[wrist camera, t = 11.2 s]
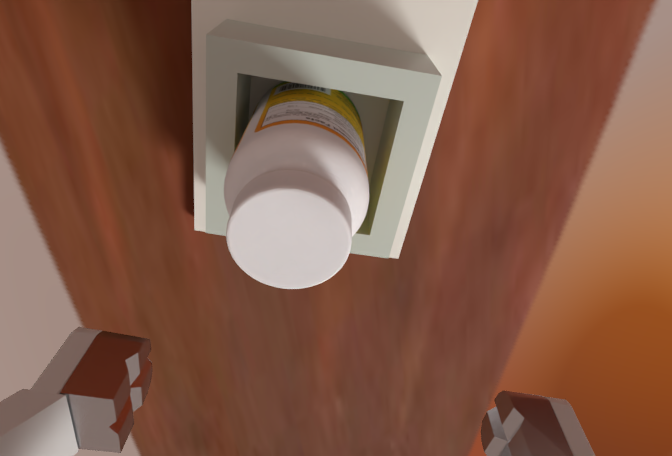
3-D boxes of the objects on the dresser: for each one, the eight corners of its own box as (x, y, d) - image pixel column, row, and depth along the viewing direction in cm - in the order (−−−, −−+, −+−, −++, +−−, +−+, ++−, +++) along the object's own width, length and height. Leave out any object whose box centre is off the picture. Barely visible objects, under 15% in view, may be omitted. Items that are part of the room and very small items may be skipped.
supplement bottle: (306, 195, 24) (288, 328, 16) (230, 124, 22) (166, 236, 14) (384, 133, 22) (409, 250, 14) (310, 47, 20) (289, 127, 12)
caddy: (396, 248, 27) (405, 298, 24) (199, 220, 26) (175, 268, 23) (472, -3, 20) (503, 12, 16) (197, -56, 19) (161, -53, 15)
